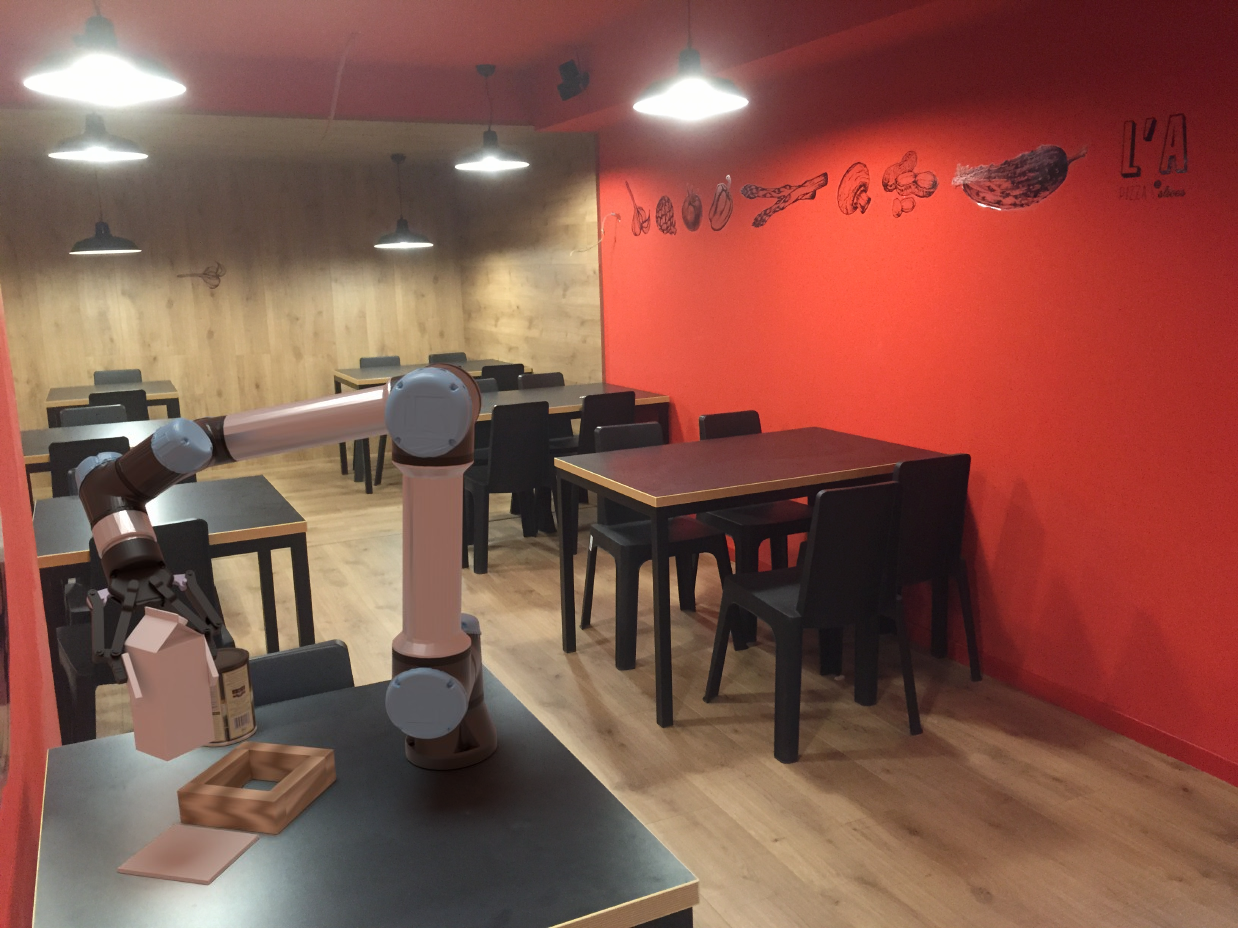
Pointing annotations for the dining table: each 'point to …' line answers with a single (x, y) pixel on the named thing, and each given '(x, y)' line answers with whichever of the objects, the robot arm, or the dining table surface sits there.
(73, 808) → the dining table surface
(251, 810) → the frame
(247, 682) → the coffee can
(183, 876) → the pink mat
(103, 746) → the dining table surface
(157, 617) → the milk carton
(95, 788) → the dining table surface
